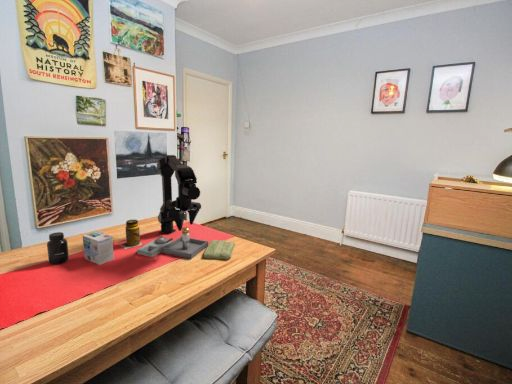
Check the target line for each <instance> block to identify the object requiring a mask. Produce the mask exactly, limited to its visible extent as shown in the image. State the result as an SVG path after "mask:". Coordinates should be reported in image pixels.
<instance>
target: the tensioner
mask: <svg viewBox="0 0 512 384" xmlns="http://www.w3.org/2000/svg"><path fill="white" fill-rule="evenodd" d="M172 241H174V239H173V237H170V238H168V237H164V236H162V235H161V236H159V237H157V238H155V239H154V240H152V241H150V242H148V243H146V244H145V245H142V246H141V247H139V248H137V249H136V253H137V255H142V256H146V257H150V258H153V257H156V256H157V255H158V254H160V253H162V248H163V247H164V246H166V245H168V244H170V243H171V242H172Z"/></svg>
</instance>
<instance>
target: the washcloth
mask: <svg viewBox="0 0 512 384" xmlns="http://www.w3.org/2000/svg"><path fill="white" fill-rule="evenodd" d="M235 245H236V243H235V242H234V241H227V240H223V239H222V240H216V239H212V240H210V241H208V246H207V247H206V248H205V249H204V253H203V258H204V259H212V260H214V259H218V260H227V261H228V260H229V259H232V258H231V257H232V254H233V250H234V247H235Z"/></svg>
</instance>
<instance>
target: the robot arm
mask: <svg viewBox="0 0 512 384" xmlns="http://www.w3.org/2000/svg"><path fill="white" fill-rule="evenodd" d="M156 168H157V171H158V173H159V175H160V176H161V187H162V205H161V207H160V208H159V214H158V216H157V221H158V223H159V224H160V231H158V233H160V234H165V235H170V234H172V233H174V232H176V230H177V229H178V231H179V232H182V228H183V227H184V221H185V217H184V216H185V213H186V212H187V213H188V218H189V219H188V220H189V225H193V224H194V222H195V219H196V218H197V216H198V213H199V212H200V211H201V209H202V204H201V203H200V202H195V201H193V200H197V199H199V197H200V195H201V190H200V188H199V187H198V186H197V185H196V184H197V183H198V181H197V180H198V179H197V176H196V174H195V172H194V169H193V168H192V167H191V166H189V165H184V164H183V163H182V162H181V161H180V160H179V159H178V158H177V156H176V155H175V154H167V155H164V156H163V158H160V159H158V161H157V163H156ZM173 176H174V177H175V179H176V181H177V185H178V186H177V189H178V190H177V191H178V196H177V197H176V198H175V200H173V193H172V192H173V191H172V190H173V188H172V187H173V186H172V177H173ZM174 223H175V225H176V228H177V229H174Z"/></svg>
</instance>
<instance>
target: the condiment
mask: <svg viewBox="0 0 512 384" xmlns="http://www.w3.org/2000/svg"><path fill="white" fill-rule="evenodd" d="M140 233H141V232H140V225H139V221H138V219H129V220H126V221H125V237H126V238H125V240H126V242H122V243H121V242H120V243H119V245H120V246H121V247H122V248H123V249H124V250H126V249H131V248H134V247H138V246H144V244H143V243H142V242H141V236H140Z"/></svg>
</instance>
